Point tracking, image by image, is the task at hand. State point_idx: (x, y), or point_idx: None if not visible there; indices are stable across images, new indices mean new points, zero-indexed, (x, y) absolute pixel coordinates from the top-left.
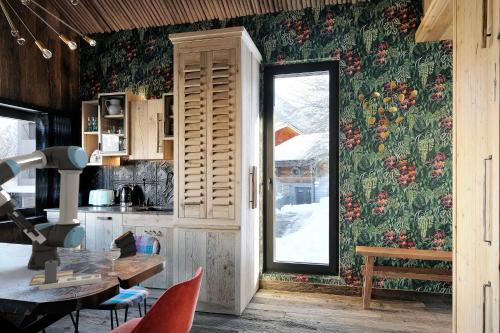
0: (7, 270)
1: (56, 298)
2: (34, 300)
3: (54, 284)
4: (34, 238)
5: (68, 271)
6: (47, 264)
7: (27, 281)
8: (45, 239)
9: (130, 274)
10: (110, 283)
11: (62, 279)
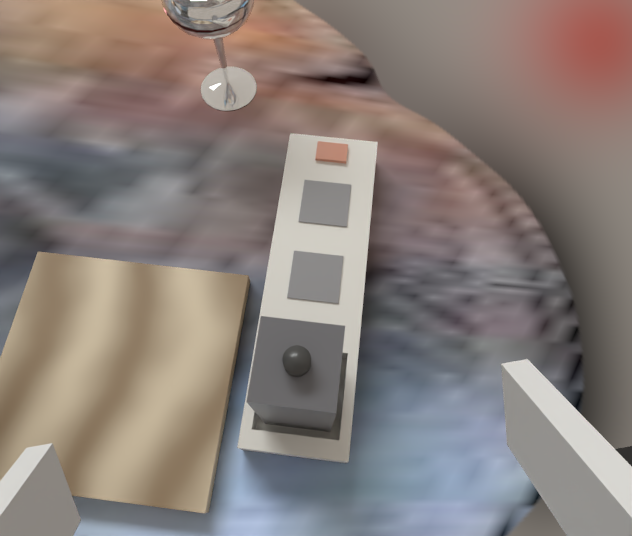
0: None
1: None
2: (511, 490)
3: (356, 373)
4: (60, 516)
5: (55, 278)
6: (337, 394)
7: None
8: (531, 371)
9: (293, 29)
10: (397, 125)
11: None
